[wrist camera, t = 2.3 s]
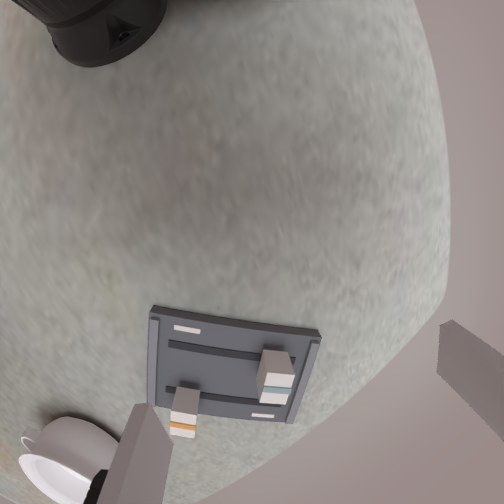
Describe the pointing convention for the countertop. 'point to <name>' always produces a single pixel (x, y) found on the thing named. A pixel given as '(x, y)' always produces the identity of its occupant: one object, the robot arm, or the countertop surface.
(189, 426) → the fader low
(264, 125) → the countertop surface
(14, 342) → the countertop surface
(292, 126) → the countertop surface
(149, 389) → the console
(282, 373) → the fader high
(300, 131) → the countertop surface
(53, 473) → the pot
